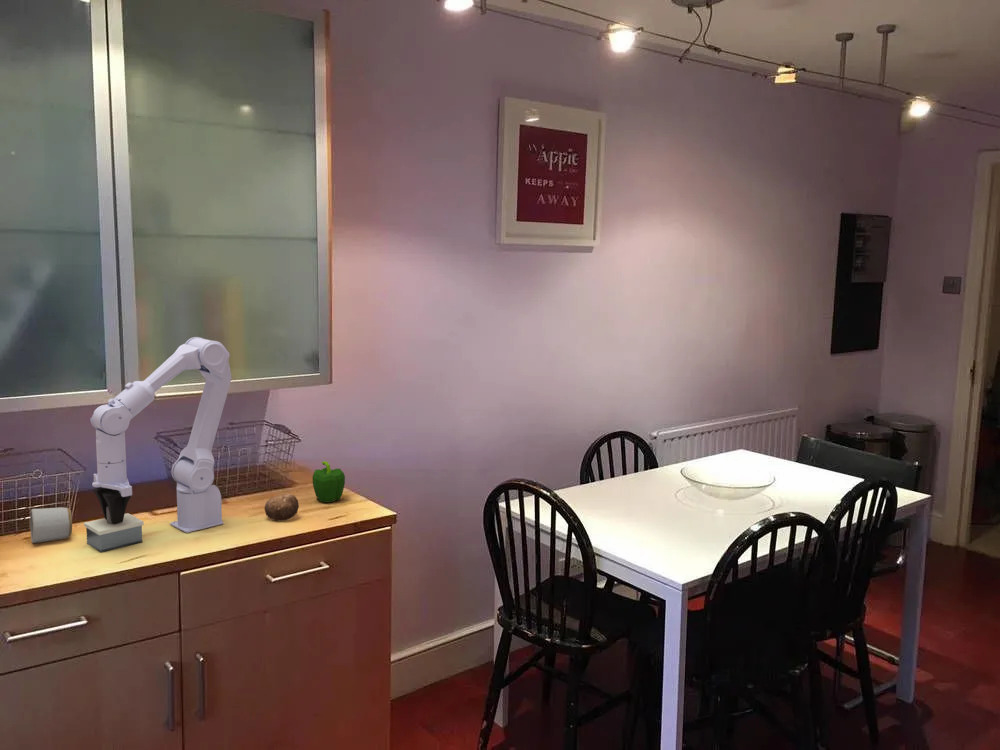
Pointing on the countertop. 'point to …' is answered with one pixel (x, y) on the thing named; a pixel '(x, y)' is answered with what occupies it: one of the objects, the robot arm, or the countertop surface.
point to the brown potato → (281, 507)
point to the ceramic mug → (50, 524)
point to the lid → (107, 526)
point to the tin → (114, 539)
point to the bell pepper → (328, 483)
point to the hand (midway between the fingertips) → (113, 520)
